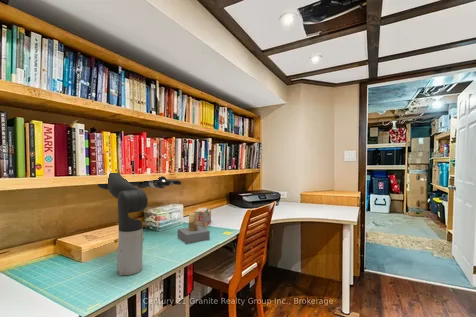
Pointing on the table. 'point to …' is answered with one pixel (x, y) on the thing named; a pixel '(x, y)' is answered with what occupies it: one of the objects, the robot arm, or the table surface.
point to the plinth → (193, 235)
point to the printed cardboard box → (203, 217)
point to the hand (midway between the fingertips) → (174, 183)
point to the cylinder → (193, 221)
